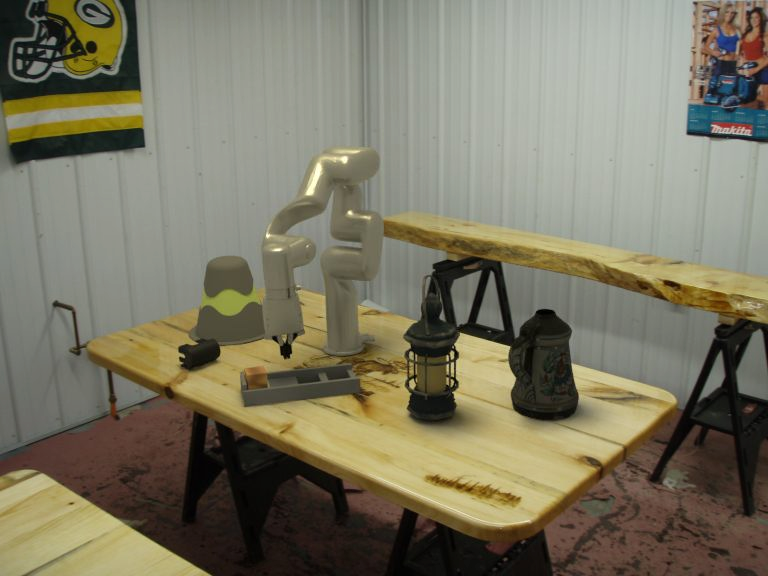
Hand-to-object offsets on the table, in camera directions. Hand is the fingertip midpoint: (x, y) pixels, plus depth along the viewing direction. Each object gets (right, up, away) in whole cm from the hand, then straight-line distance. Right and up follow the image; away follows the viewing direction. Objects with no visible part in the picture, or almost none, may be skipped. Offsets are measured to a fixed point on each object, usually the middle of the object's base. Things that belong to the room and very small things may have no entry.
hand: (286, 357), depth 205 cm
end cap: (-27, -4, +20) cm, 34 cm away
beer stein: (+65, -12, -12) cm, 67 cm away
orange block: (-7, -8, -3) cm, 11 cm away
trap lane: (+4, -9, +1) cm, 10 cm away
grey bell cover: (-23, +4, +48) cm, 53 cm away
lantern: (+37, -13, -14) cm, 42 cm away
